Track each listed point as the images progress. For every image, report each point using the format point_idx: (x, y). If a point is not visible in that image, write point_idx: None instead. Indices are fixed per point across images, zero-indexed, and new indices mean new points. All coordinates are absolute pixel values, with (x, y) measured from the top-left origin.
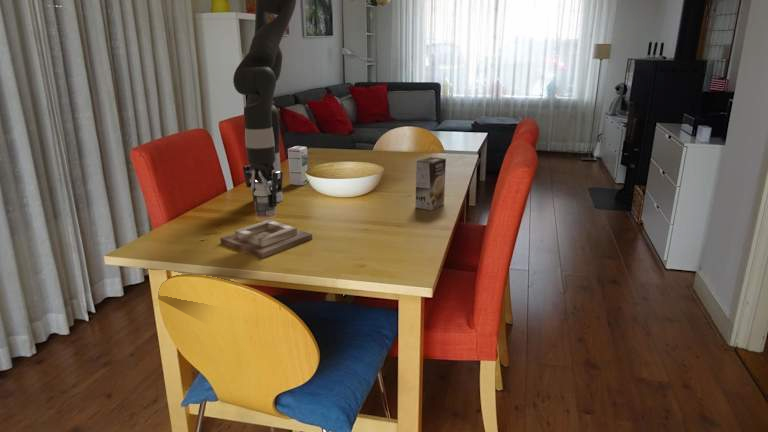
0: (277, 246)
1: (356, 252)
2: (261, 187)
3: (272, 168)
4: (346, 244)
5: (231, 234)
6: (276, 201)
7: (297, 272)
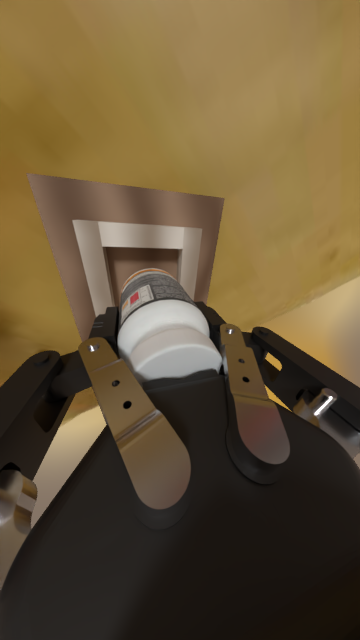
0: (204, 301)
1: (321, 211)
2: None
3: (345, 479)
4: (297, 181)
5: (76, 321)
6: (216, 313)
7: (261, 321)
